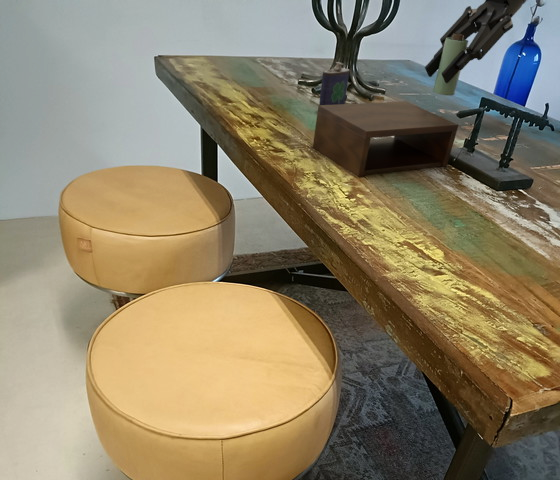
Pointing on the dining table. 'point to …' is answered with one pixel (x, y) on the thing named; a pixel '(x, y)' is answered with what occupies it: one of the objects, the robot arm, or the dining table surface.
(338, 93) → the flask
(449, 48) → the canister
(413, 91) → the dining table surface
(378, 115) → the shelf
